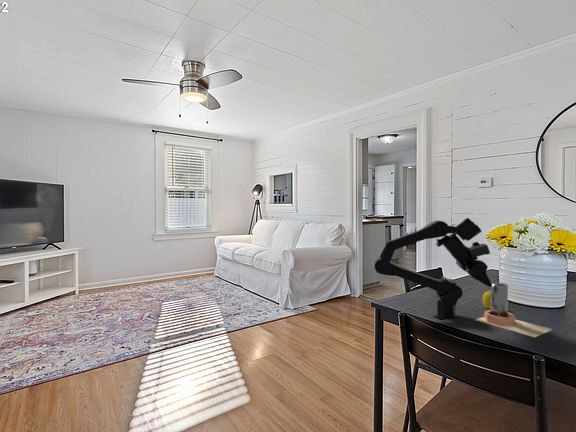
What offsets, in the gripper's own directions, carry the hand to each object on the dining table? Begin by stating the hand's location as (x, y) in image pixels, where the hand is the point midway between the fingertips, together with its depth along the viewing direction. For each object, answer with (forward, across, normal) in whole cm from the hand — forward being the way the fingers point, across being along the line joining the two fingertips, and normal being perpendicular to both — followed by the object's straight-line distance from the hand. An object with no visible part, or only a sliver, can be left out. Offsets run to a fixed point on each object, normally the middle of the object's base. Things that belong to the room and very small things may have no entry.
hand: (486, 282), depth 117 cm
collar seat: (+13, -3, +6) cm, 14 cm away
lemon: (+14, +12, +5) cm, 19 cm away
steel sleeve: (+12, -3, +5) cm, 13 cm away
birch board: (+14, -6, +4) cm, 16 cm away
